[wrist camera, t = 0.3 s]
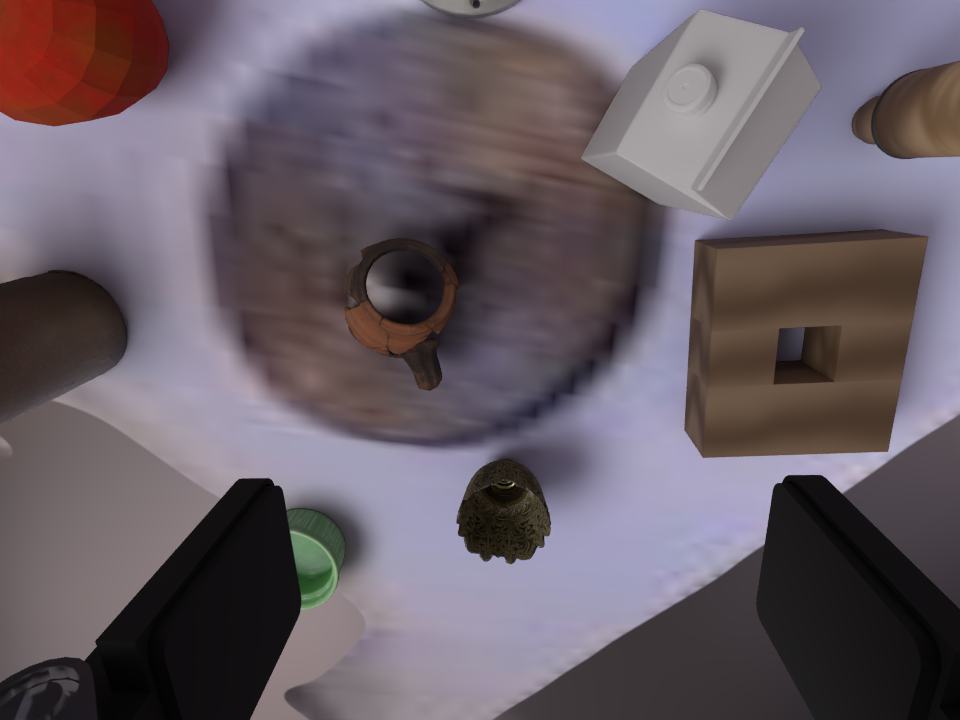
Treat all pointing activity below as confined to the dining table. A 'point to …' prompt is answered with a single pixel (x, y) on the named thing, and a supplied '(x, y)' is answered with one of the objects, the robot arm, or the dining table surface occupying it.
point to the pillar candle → (54, 338)
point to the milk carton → (705, 113)
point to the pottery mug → (397, 336)
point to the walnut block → (826, 347)
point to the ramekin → (315, 555)
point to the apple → (78, 58)
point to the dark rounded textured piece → (503, 512)
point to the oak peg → (915, 115)
